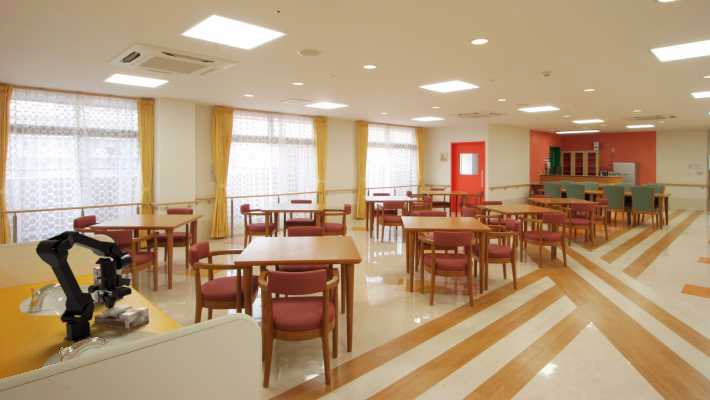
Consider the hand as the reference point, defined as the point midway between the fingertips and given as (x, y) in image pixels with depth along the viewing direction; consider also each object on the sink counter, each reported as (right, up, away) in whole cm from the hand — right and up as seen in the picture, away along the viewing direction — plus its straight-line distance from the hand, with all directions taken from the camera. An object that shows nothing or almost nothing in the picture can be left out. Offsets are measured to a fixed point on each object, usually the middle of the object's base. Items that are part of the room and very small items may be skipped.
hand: (110, 310), depth 170 cm
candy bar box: (-17, -2, +27) cm, 32 cm away
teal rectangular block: (+9, -4, -3) cm, 10 cm away
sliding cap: (+4, -3, -1) cm, 5 cm away
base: (+5, -4, -2) cm, 7 cm away
